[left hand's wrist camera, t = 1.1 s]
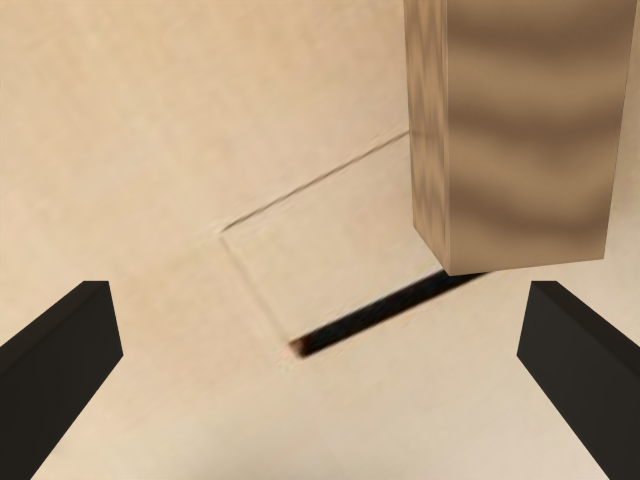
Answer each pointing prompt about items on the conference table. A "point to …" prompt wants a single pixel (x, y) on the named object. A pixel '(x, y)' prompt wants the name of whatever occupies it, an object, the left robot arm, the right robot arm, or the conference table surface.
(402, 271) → the conference table surface
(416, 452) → the conference table surface
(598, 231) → the cabinet
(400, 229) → the conference table surface
